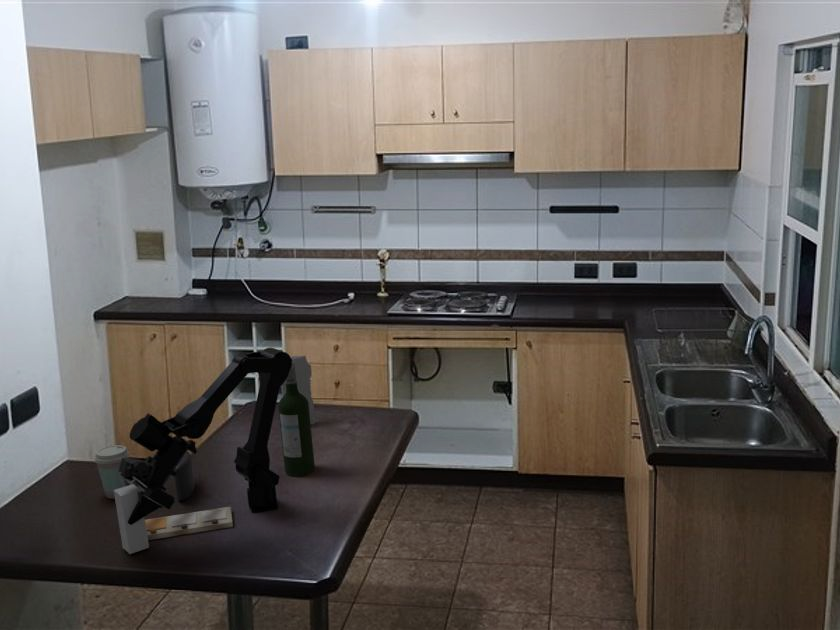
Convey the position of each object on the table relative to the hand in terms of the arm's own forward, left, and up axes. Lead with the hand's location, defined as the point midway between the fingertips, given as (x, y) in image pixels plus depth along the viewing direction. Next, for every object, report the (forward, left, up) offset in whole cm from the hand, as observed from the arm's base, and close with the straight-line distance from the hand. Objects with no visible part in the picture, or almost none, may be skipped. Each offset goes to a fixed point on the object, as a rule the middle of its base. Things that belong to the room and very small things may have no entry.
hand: (125, 520), depth 218 cm
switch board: (-12, -9, -8) cm, 17 cm away
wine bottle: (-42, -32, -8) cm, 54 cm away
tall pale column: (-46, -67, -8) cm, 82 cm away
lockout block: (-1, -1, -7) cm, 7 cm away
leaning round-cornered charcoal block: (-11, -31, -8) cm, 34 cm away
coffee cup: (+5, -35, -8) cm, 37 cm away
